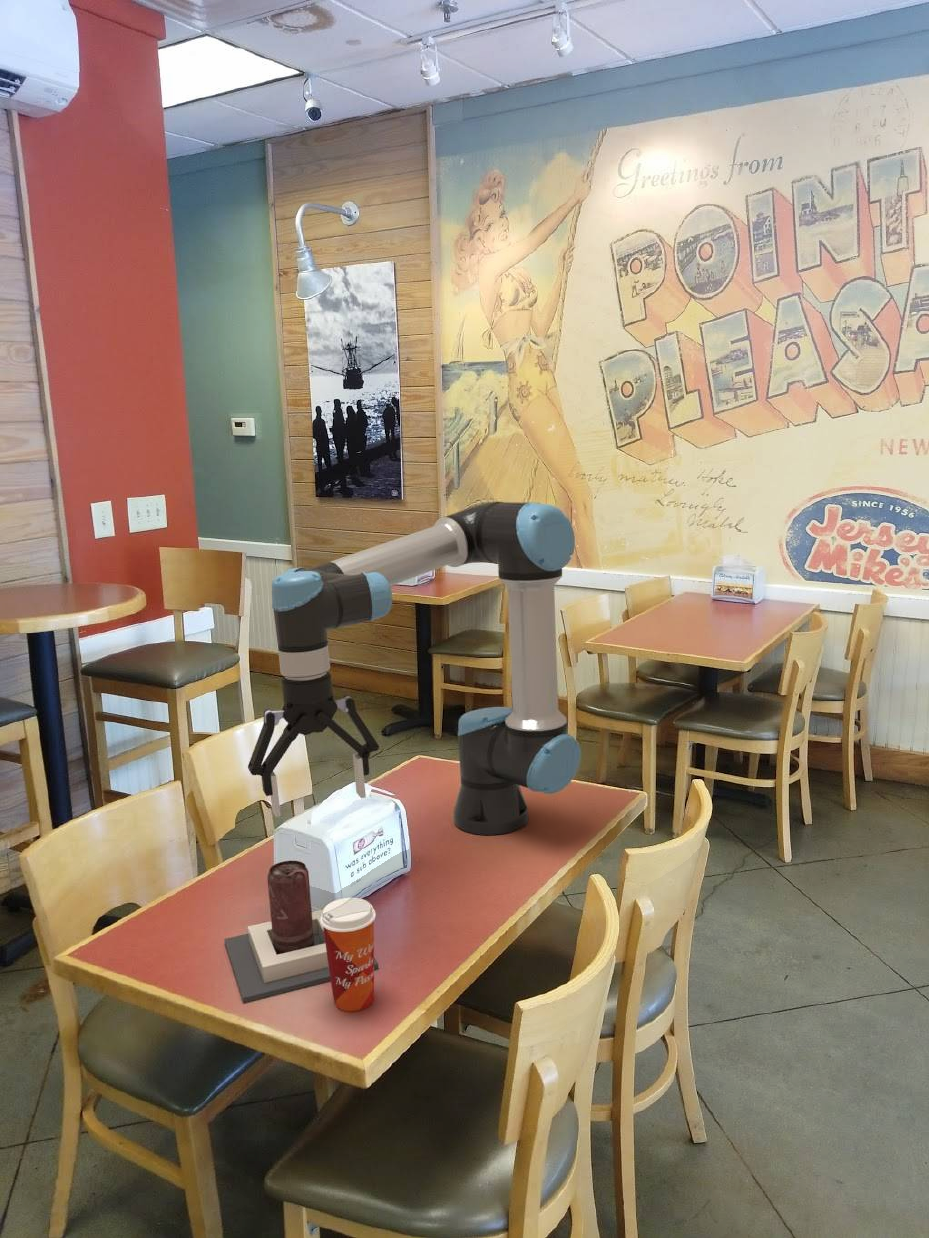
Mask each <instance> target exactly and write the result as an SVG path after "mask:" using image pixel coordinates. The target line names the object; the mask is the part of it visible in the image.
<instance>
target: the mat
mask: <svg viewBox="0 0 929 1238" xmlns="http://www.w3.org/2000/svg"><path fill="white" fill-rule="evenodd" d="M223 940H224V946H225V950H226V952H227V956H228V959H229V962H230V965H231V969H232V972H233V975H234V978H235V980H236V984H237V988H238V990H239V994H240V997H241V1000H242V1002H243V1003H242V1004H246V1003H249V1002H254V1001H258V1000H261V999H265V998H269V997H273V996H278V995H282V994H285V993H289V992H293V991H296V990H300V989H305V988H308V987H309V988H310V987H312V986H316V985H320V984H324V983H328V982H331V978H330V972H329V967H327V968H323V969H319V970H315V971H311V972H307V973H303V974H299V975H295V976H290V977H286V978H282V979H278V980H274V981H270V982H266V983H264V981H263V978H262V975H261V973H260V970H259V967H258V964H257V962H256V959H255V956H254V953H253V950H252V948H251V945H250V942H249V935H248V933H244V934H241V935H236V936H232V937H231V936H230V937H228V938H224V939H223ZM320 944H324V943H323V942H322V940H321V938H320V936H319V934H318V933H317V934H314V946H316V945H320ZM272 945H273V944H272ZM273 947H274V945H273ZM375 970H379V963H378V961H377V959H375V957H374V971H375Z"/></svg>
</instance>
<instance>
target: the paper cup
mask: <svg viewBox="0 0 929 1238" xmlns="http://www.w3.org/2000/svg"><path fill="white" fill-rule="evenodd" d="M323 909H324V910H323ZM323 909H322V910H323V914H322V916H321V918H320V923H321V925H322V926H323V929H324V936H325V943H326V951H327V959H328V966H329V972H330V978H331V981H330V985H331V991H332V997H333V1001H334V1005H335V1007H336V1008H337V1009H338V1010H340V1011H344V1012H349V1013H351V1012H352V1013H353V1012H359V1011H363V1010H366V1009H367V1008H369V1007H370V1006H371V1005H372V1003H373V1002H374V997H375V970H374V958H375V946H374V945H375V944H374V943H375V940H374V938H375V934H374V930H375V928H374V927H375V926H374V921H375V920H376V917H377V916H376V915H377V914H376V910H375V909H374V907H373V905H372V903H370V902H369V901H367V900H366V899H363V898H359V897H344V898H339V899H336V900H333V901H330V902H329V903H328V904H327V905H326V906H325V907H324V908H323Z"/></svg>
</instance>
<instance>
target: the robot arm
mask: <svg viewBox="0 0 929 1238" xmlns="http://www.w3.org/2000/svg"><path fill="white" fill-rule="evenodd" d="M435 521H436V522H435V523H434V525H433V526H430V527H428V528H425V529H422V530H419V531H416V532H413V533H410V534H408V535H404V536H402V537H398V538H396V539H392V540H389V541H387V542H384V543H381V544H378V545H376V546H372V547H369V548H367V549H364V550H360V551H357V552H354V553H352V554H349V555H346V556H343V557H339V558H337V559H334V560H332V561H329V562H325V563H322V564H319V565H316V566H313V567H309V568H307V567H302V566H300V567H293V568H290V569H287V570H286V571H285V572H284V573H281V574H278V575H277V576H275V577H274V578H273V580H272V581H271V599H272V600H271V601H272V602H271V603H272V604H271V606H272V607H271V608H272V611H273V617H274V619H273V620H274V627H275V634H276V643H277V649H278V650H277V652H278V659H279V660H278V663H279V671H280V674H281V675H282V676H283V677H282V678H281V688H282V689H281V690H282V699H283V707H282V710H271V709H269V708H267V709H265V710H264V711H263V724H262V727H261V730H260V732H259V735H258V738H257V741H256V743H255V746H254V749H253V750H252V751H253V752H252V754H251V756H250V759H249V761H248V764H247V769H248V771H249V773H250V775H252V776H260V777H261V783H262V784H261V785H262V790H263V791H262V792H263V793H264V794H265V796H266V797H270V802H271V803H270V804H271V811H272V812H273V814H274V816H275V818H278V817H281V806H280V798H279V797H280V795H279V790H278V788H279V787H278V781H277V775H276V774H275V772H274V771H275V769H276V767H277V766H278V764H279V763H280V761H281V760H282V758H283V757H284V755H285V754H286V752H287V751H288V749H289V747H290V746H291V745H292V743H293V742H294V741H295V740H297V737H298V736H299V734H300V735H302V736H306V735H310V734H313V733H324V731H325V730H326V729H327V728H328V729H330V730H331V731H332V732H333V733H334V734H335V735H337V736H338V737H339V738H341V740H343V741H344V742H345V743H346V744H348V745H349V746H350V748H352V750H354V751H355V752H357V753H352V761H353V770H354V771H353V772H354V780H355V782H354V783H355V789H356V792H355V793H356V794H357V795H358V797H360V798H361V799H364V798H367V796H366V784H365V776H369V774H370V765H369V764H370V762H369V758H370V757H371V754H372V753H373V752H377V751H378V750H379V749H380V746H379V744H378V742H377V740H376V739H375V737H374V736H373V735H372V733H371V732H370V730H369V728H368V726H367V725H366V723H364V721H363V720H362V718H361V717H360V715H359V713H358V711H357V708H356V704H355V700H354V699H353V698H352V697H351V696H349V695H347V694H345V695H343V697H342V698H340V699H337V700H335V699H334V693H333V692H334V691H333V683H332V674H331V673H330V672H329V670H330V669H331V663H330V662H331V661H330V653H329V643H328V642H329V641H328V631H331V630H335V629H340V628H344V627H349V626H353V625H357V624H358V625H359V624H362V623H367V622H368V623H370V622H372V621H374V620H377V619H380V618H383V617H385V616H387V615H388V614H389V613H390V611H391V609H392V607H393V593H392V587H391V586H394V585H397V584H399V583H402V582H403V583H404V582H405V581H407V580H410V579H412V578H413V579H414V578H416V577H419V576H422V575H425V574H426V573H429V572H432V571H435V570H438V569H440V568H442V567H446V566H449V567H451V568H458V567H461V566H464V565H467V564H468V565H469V564H477V563H479V564H480V563H482V564H484V563H485V564H493V565H497V566H498V567H497V568H498V569H497V570H498V571H497V572H498V579H499V581H500V582H502V584H503V585H505V587H506V589H507V609H508V611H507V612H508V634H509V635H508V636H509V652H510V653H509V655H510V657H509V658H510V678H511V679H510V681H511V701H512V703H511V704H512V705H511V706H512V707H509V706H493V707H484V708H483V707H482V708H477V709H475V710H470V711H468V712H466V713H463V714H462V715H461V716H460V717H459V719H458V726H457V727H458V728H457V729H458V732H457V740H458V741H457V742H458V743H457V744H458V757H459V771H460V772H459V774H460V788H459V791H458V794H457V798H456V802H455V805H454V809H453V822H454V825H455V827H457V828H458V829H459V830H461V831H464V832H467V833H469V834H474V835H484V836H485V835H486V836H487V835H489V836H490V835H491V836H492V835H494V836H495V835H501V834H502V835H503V834H509V833H512V832H514V831H517V830H520V829H521V828H523V827H524V826H526V825H527V823H528V821H529V809H528V808H529V807H528V804H527V802H526V799H525V797H524V794H523V792H522V789H521V787H524V788H526V789H529V790H531V791H533V792H540V793H543V794H545V795H546V794H547V795H553V794H556V793H558V792H560V791H562V790H564V789H565V788H567V786H568V785H570V783H571V782H572V781H573V778H574V777H575V776H576V774H577V772H578V769H579V767H580V764H581V759H582V750H581V746H580V743H579V742H578V741H577V739H576V738H575V737H574V736H573V735H570V734H568V721H567V720H568V719H567V717H566V716H565V715H564V714H563V713H562V712H561V711H560V710H559V689H558V688H559V686H558V660H557V634H556V633H557V632H556V630H557V629H556V625H557V624H556V603H555V601H556V600H555V599H556V598H555V585H556V584H557V583H558V581H559V582H560V579H561V578H563V568H565V567H566V566H567V565H568V564H569V562H570V561H571V559H572V557H571V556H572V555H573V554H574V550H575V548H576V546H575V544H576V539H575V538H576V537H575V531H574V528H573V525H572V522H571V520H570V519H569V517H568V516H567V515H566V514H565V513H564V512H563V511H562V510H561V509H560V507H558V506H555V505H552V504H545V503H541V502H533V501H532V502H526V501H525V502H518V501H517V502H514V501H513V502H511V501H510V502H508V501H507V502H506V501H491V502H490V501H489V502H486V503H481V504H478V505H475V506H472V507H468V508H465V509H463V510H461V511H457V512H455V513H452V514H449V515H446V516H443V517H440V518H438V519H437V520H435ZM338 709H340V710H341V712H343V713H345V714H347V717H348V718H349V719H350V721H351V722H352V724H353V725H354V727H355V729H356V730H357V731H358V733H359V734H360V735H361V737H362V739H363V740H364V744H363V745H362V743H360V742H359V741H358V740H357V739H355V738H354V737H353V736H352V735H351V734H350V733H348V732H347V731H346V730H345V729H344V727H342V726H341V725H339V724H338V723H337V722H336V721H335V720H333V718H334V716H335V714H336V712H337V711H338ZM281 720H284V721H285V722H287V724H286V726H285V727H284V729H283V730H282V731H283V732H282V733H281V735H280V737H279V738H278V740H277V741H276V743H274V746H273V747H272V749H271V750H270V752H269V753H268V755H267V757H266V758H265V756H266V753H267V750H268V748H269V747H270V746H269V745H270V743H271V740H272V737H273V734H274V732H275V727H276V726H278V725H279V723H280V721H281Z"/></svg>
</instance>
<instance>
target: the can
mask: <svg viewBox="0 0 929 1238" xmlns="http://www.w3.org/2000/svg"><path fill="white" fill-rule="evenodd" d="M309 873H310V872H309V869H308V868H307V866H306V864H305V863H304V862H303V861H301V860H300V861H299V860H286V861H281V862H278V863H274V865H271V866H270V868H269V870H268V873H267V887H268V889H267V890H268V899H269V901H268V902H269V908H270V909H269V910H270V920H271V923H272V934H273V945H274V950H275V952H276V955H278V954H283V953H287V952H291V951H295V950H299V949H304V948H308V947H312V946H314V934H313V922H312V912H313V910H312V899H311V897H312V896H311V889H310V888H311V886H310V885H311V884H310V876H309V875H310V874H309Z"/></svg>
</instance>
